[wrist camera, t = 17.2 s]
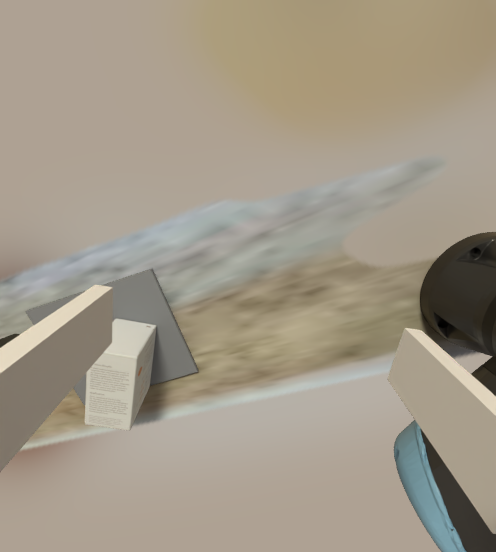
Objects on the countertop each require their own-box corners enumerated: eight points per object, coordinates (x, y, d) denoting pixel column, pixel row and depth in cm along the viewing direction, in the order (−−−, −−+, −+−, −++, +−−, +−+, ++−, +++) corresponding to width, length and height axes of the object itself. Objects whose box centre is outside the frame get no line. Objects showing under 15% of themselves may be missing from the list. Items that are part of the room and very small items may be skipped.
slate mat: (152, 268, 39) (150, 269, 38) (198, 369, 43) (197, 371, 43) (28, 310, 40) (25, 311, 40) (85, 402, 45) (84, 405, 45)
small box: (111, 382, 43) (115, 316, 40) (150, 388, 44) (157, 323, 41) (82, 425, 36) (85, 348, 33) (130, 432, 36) (137, 357, 33)
